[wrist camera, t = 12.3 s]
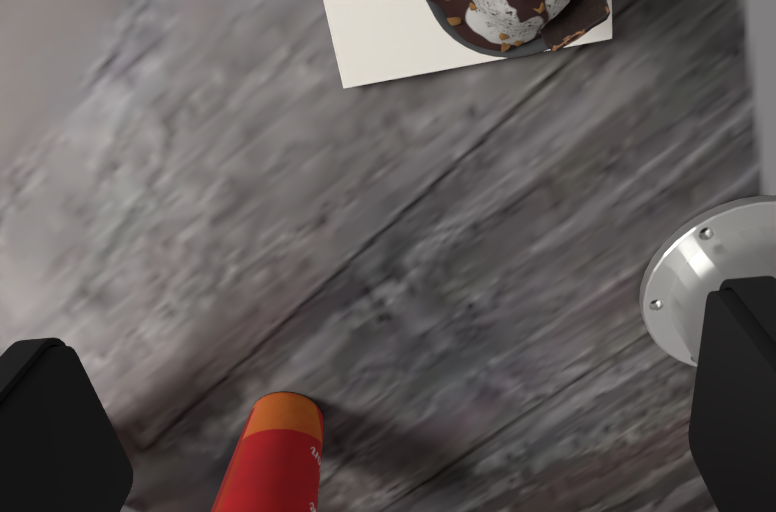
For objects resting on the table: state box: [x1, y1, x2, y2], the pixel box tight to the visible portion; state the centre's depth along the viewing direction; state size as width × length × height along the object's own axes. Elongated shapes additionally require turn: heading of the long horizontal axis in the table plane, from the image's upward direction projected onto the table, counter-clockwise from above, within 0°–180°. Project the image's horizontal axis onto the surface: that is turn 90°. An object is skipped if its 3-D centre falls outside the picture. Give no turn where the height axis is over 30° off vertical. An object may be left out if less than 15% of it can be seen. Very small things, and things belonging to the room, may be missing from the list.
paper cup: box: [211, 392, 324, 512], centre depth 41 cm, size 8×8×14 cm
